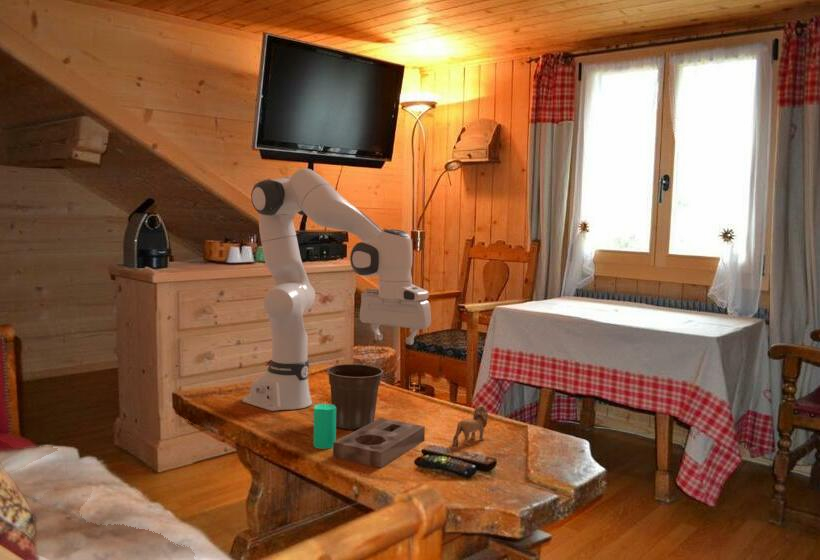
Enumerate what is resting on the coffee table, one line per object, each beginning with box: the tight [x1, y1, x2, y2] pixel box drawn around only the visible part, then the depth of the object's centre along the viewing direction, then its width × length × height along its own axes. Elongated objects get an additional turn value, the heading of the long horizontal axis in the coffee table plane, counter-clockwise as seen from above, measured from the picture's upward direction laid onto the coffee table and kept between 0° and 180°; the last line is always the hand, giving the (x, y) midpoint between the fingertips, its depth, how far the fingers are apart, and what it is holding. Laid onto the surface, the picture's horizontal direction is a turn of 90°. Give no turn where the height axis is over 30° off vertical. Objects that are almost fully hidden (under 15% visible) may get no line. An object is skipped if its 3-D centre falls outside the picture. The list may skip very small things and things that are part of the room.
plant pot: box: [326, 363, 384, 431], centre depth 202 cm, size 16×16×16 cm
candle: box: [312, 400, 337, 450], centre depth 184 cm, size 6×6×12 cm
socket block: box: [332, 417, 426, 469], centre depth 183 cm, size 14×24×4 cm, turn 153°
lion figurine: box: [452, 404, 489, 448], centre depth 190 cm, size 15×5×9 cm, turn 146°
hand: (394, 342), depth 186 cm, fingers open, 8 cm apart
